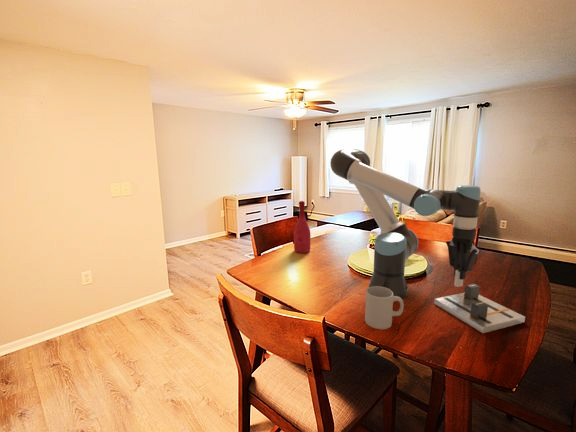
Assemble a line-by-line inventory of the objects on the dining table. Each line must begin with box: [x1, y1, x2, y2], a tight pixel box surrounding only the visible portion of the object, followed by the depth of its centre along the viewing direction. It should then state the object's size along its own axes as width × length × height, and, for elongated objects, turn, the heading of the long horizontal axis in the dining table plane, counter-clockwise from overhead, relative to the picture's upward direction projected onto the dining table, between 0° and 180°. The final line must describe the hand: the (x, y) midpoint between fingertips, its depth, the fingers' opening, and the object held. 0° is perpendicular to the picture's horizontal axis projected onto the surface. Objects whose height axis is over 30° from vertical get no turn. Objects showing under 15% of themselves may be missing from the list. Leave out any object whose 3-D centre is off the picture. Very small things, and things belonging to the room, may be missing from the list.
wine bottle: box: [293, 200, 311, 254], centre depth 163 cm, size 10×10×30 cm
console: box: [433, 292, 526, 334], centre depth 97 cm, size 18×19×7 cm
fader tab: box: [463, 283, 481, 299], centre depth 103 cm, size 4×2×5 cm, turn 107°
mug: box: [364, 286, 405, 330], centre depth 92 cm, size 12×8×11 cm
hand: (458, 285), depth 109 cm, fingers closed
